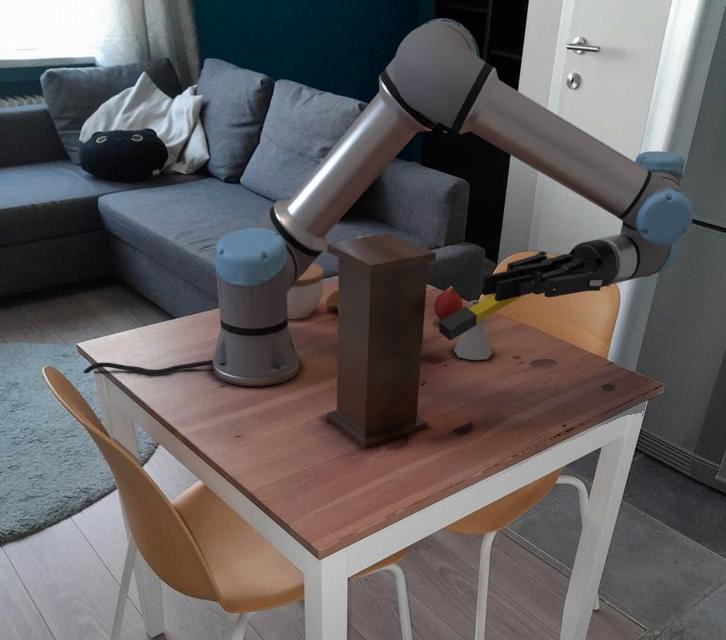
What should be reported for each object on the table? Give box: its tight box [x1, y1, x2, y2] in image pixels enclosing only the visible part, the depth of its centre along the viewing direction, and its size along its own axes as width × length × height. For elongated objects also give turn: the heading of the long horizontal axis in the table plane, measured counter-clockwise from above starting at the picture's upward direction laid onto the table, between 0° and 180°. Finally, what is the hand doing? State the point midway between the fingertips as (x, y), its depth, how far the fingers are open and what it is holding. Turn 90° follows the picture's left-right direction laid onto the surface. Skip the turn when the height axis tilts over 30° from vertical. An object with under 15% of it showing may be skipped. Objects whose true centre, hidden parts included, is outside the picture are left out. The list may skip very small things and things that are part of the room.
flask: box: [453, 299, 493, 361], centre depth 149 cm, size 7×7×10 cm
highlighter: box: [438, 293, 522, 341], centre depth 117 cm, size 16×3×2 cm, turn 124°
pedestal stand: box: [325, 232, 437, 449], centre depth 120 cm, size 12×11×28 cm
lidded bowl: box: [287, 262, 325, 320], centre depth 163 cm, size 13×13×11 cm
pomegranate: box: [433, 286, 464, 321], centre depth 161 cm, size 6×6×8 cm
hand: (491, 288), depth 116 cm, fingers closed on highlighter, 2 cm apart
